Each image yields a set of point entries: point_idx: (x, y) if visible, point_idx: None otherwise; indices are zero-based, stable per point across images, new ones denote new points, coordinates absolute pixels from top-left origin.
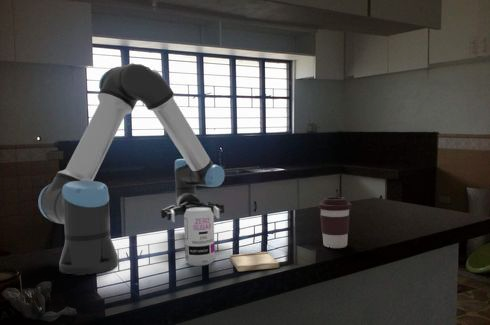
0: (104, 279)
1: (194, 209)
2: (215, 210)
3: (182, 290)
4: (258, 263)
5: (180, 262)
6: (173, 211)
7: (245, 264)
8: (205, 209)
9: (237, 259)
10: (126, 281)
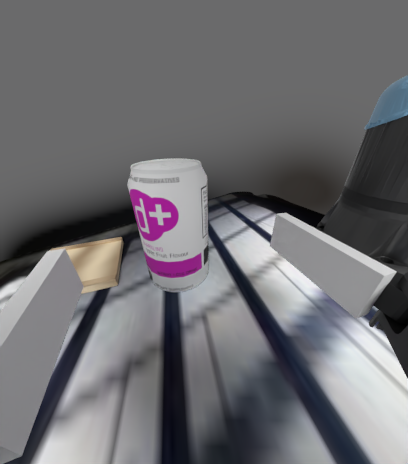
0: None
1: (178, 166)
2: (48, 300)
3: None
4: (83, 250)
5: (218, 271)
6: (310, 232)
7: (106, 246)
8: (147, 166)
9: (108, 264)
10: (257, 221)
